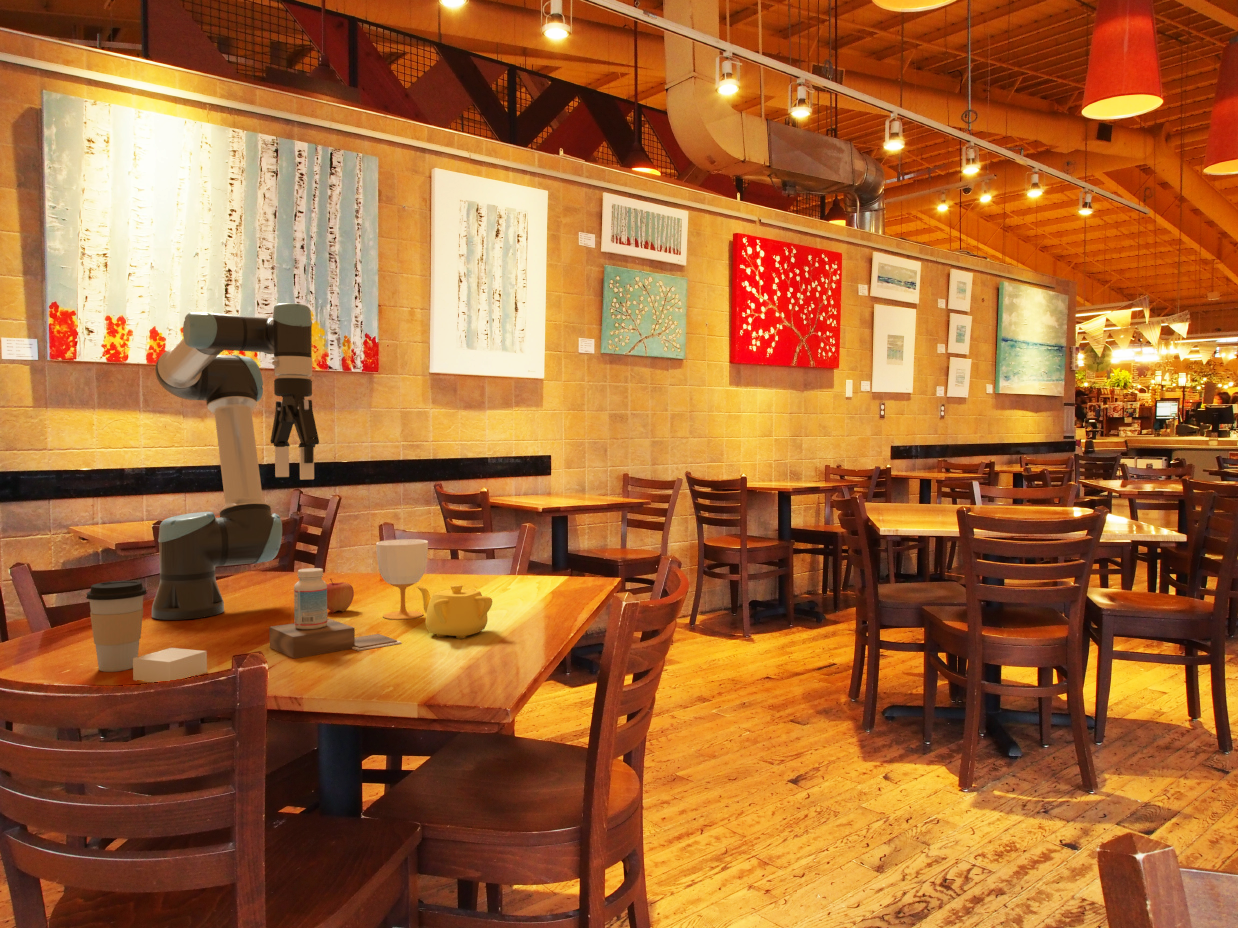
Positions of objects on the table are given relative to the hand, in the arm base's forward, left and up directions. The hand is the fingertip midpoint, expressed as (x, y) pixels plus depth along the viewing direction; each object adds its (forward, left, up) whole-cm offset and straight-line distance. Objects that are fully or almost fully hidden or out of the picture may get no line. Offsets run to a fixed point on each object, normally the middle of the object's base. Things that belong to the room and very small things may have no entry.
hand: (294, 478), depth 186 cm
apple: (-13, +15, -33) cm, 38 cm away
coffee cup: (+9, -36, -33) cm, 49 cm away
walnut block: (+18, -4, -32) cm, 37 cm away
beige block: (+21, -30, -33) cm, 49 cm away
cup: (+2, +24, -33) cm, 41 cm away
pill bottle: (+18, -4, -29) cm, 34 cm away
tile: (+22, +6, -32) cm, 39 cm away
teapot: (+26, +23, -33) cm, 48 cm away
